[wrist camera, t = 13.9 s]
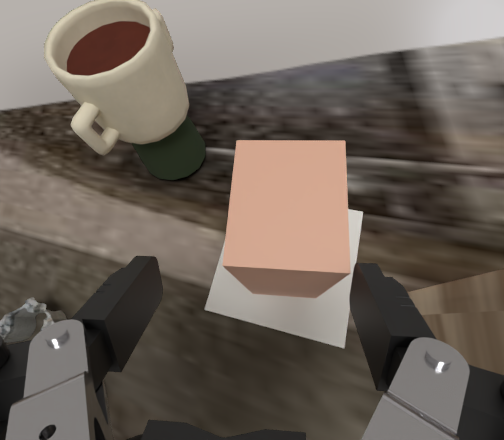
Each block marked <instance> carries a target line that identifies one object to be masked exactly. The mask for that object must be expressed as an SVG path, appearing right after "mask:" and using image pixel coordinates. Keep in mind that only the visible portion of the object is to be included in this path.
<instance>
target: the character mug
mask: <svg viewBox="0 0 504 440" xmlns="http://www.w3.org/2000/svg"><path fill="white" fill-rule="evenodd" d="M173 49H174V47H173V42H172V39H171V37H170V34H169V31H168V29H167V26H166V24H165V21H164V19H163V17H162V15H161V14H160V12H159V11H158V10H157V9H156V8H155V9H153V10H152V9H150V7H149V6H148V5H147V4H146V3H145V2H143V1H140V0H94V1H90V2H88V3H86V4H84V5H82V6H80V7H78V8H76V9H74V10H72V11H70V12H69V13H68V14H66V15H65V16H64V17H63V18H61V19H60V20H59V21H58V22H57V23H56V24H55V25H54V26H53V28H52V29H51V31H50V32H49V34H48V36H47V39H46V41H45V43H44V58H45V60H46V62H47V64H48V65H49V67H50V69H51V71H52V72H53V74H54V75H55V76H56V78H57V79H58V80H59V81H60V82H61V83H62V85H63V86H64V87H65V88H66V89H67V90H68V91H69V92H70V93H71V94H72V96H73V97H74V98H75V99H76V100H77V101H78V103H79V104H80V105H81V107H80V109H79V110H78V112H77V113H76V114H75V116H74V117H73V119H72V122H71V127H72V128H73V130H74V132H75V133H76V134H77V135H78V136H79V137H81V138H82V139H83V140H84V141H85V142H86V143H87V144H88V145H89V146H90V147H92V148H93V149H94V150H95V151H96V152H97V153H99V154H101V155H105V154H107V153H108V152H110V151H111V150H112V148H113V146H114V145H115V143H116V142H117V140H118V139H120V140H123V141H125V142H130V143H132V145H133V146H134V148H135V150H136V151H137V153H138V155H139V157H140V158H141V160H142V162H143V163H144V165H145V166H146V168H147V169H148V171H149V172H150V173H151V174H152V175H154V176H156V177H157V178H159V179H167V180H176V179H179V178H183V177H187V176H189V175H190V174H192V173H193V172H194V171H196V170H197V169H198V168H200V166H201V164H202V162H203V160H204V158H205V142H204V141H203V139H202V137H201V136H200V134H199V132H198V131H197V129H196V127H195V126H194V124H193V123H192V121H191V120H190V118H189V117H188V116H187V111H188V108H189V101H188V95H187V90H186V85H185V83H184V80H183V78H182V76H181V73H180V71H179V68H178V66H177V63H176V61H175V58H174V56H173V53H172V52H173ZM94 121H96V122H97V123H98V124H99V125H100V126H101V127H102V128H103V129H104V132H103V133H102V135H101V136H99V135H98V134H97V133H96V132H95V131H94V130H93V129H92V127H91V126H92V124H93V122H94Z"/></svg>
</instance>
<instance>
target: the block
mask: <svg viewBox="0 0 504 440" xmlns="http://www.w3.org/2000/svg"><path fill="white" fill-rule="evenodd" d="M222 266H223V267H224V268H225V269H226V270H227V271H229V272H230V273H231V274H232V275H233V276H234V277H235V278H236V279H237V280H238V281H239V282H240V283H241V284H243V285H244V286H245V287H246V288H247V289H248V290H249V291H250V292H251V293H252V294H262V295H276V296H290V297H304V298H317V297H319V296H320V295H321V294H323V293H324V292H325V291H327V290H328V289H330V288H331V287H332V286H334V285H335V284H337V283H338V282H339V281H341V280H342V279H343V278H345V277H346V276H348V275H349V274H350V273H351V271H350V247H349V222H348V197H347V172H346V148H345V141H274V140H237V142H236V151H235V159H234V168H233V177H232V186H231V194H230V203H229V212H228V221H227V229H226V238H225V247H224V256H223V264H222Z"/></svg>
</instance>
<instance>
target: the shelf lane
mask: <svg viewBox="0 0 504 440" xmlns="http://www.w3.org/2000/svg"><path fill="white" fill-rule="evenodd" d="M407 293H408V295H409V296H410V299H412V301H413V303H414V304H415V307H417V309H418V311H419V312H420V314H421V315H422V317H423V318H424V320H425V322H426V323H427V325H428V326H429V328H430V329H431V331H432V333H433V334H434V336H435V337H436V339H437V340H439V341H442V342H444V343H446V344H448V345H450V346H451V347H453V348H454V349H455V350H457V351H458V352H459V353H460V354H461V355H462V356H463V357H464V359H465V360H466V362H467V363H468V364H469V365H472V366H475V367H478V368H481V369H485V370H488V371H491V372H495V373H498V374H501V375H504V269H501V270H497V271H493V272H489V273H485V274H480V275H476V276H472V277H468V278H464V279H460V280H456V281H451V282H447V283H443V284H439V285H435V286H431V287H426V288H422V289H418V290H414V291H410V292H407Z"/></svg>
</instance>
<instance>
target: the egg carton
mask: <svg viewBox="0 0 504 440" xmlns="http://www.w3.org/2000/svg"><path fill="white" fill-rule="evenodd" d="M25 303H26V304H25V305H23V306H22V307H21V308H19V309H17V310H15V311H13V312H10V313H7V314H6V315H4V317H3V319H2V320H0V336H1V337H2V338H3V340H4V342H16V341H23V340H26V339H27V338H29V337H30V336H31V335H32V334H33V332H34V330H35V327H36V319H35V317H36V315H38V314H39V313H46V315H47V318H45V319H44V325H43V326H42V328H41V331H42V330H43V329H45V328H46V327H48V326H50V325H52V324H54V323H57V322H60V321H63V320H67V318H66V316H65V314H64V313H63V312H62V311H61V310H60V311H50V310H46V304H44V303H38V302H37V301H35V300H34V298H30V299H28V300H26V301H25Z"/></svg>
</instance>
